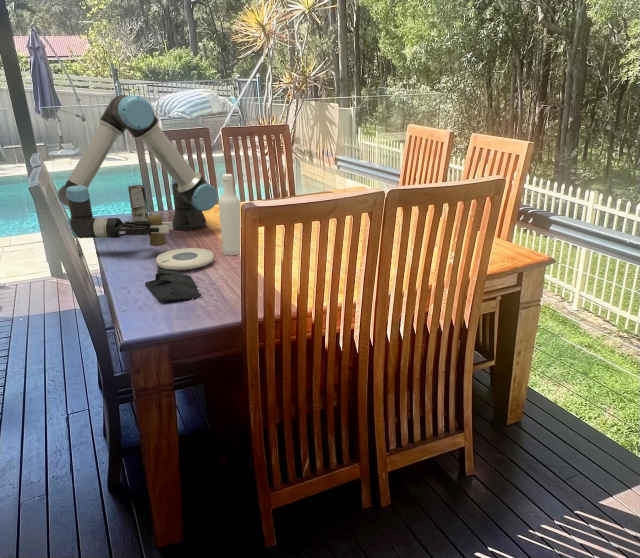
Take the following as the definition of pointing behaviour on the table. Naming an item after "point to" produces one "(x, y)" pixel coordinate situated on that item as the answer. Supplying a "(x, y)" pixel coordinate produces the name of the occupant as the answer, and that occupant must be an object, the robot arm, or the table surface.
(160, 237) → the cork
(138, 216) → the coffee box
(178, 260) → the turntable
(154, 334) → the table surface
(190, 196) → the robot arm
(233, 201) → the bottle
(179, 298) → the dark grey folded cloth
